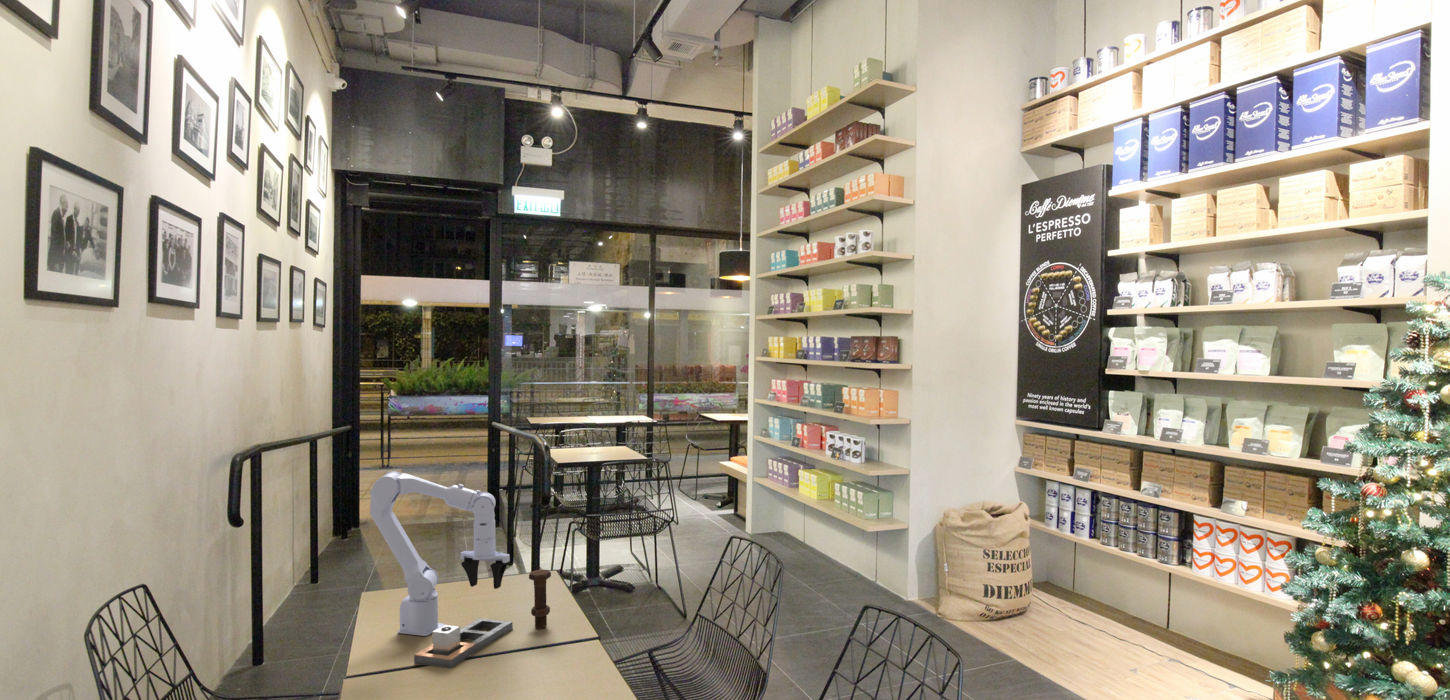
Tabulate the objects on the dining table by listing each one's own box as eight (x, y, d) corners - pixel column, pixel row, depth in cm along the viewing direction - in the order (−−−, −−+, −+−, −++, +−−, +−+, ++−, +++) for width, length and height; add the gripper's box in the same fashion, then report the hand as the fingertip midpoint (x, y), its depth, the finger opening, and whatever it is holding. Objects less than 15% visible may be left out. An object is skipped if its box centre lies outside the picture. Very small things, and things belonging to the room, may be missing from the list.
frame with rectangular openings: (414, 663, 177) (414, 654, 177) (479, 625, 201) (479, 617, 201) (450, 668, 174) (450, 659, 174) (512, 629, 198) (512, 621, 198)
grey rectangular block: (433, 660, 179) (432, 631, 179) (445, 652, 183) (444, 624, 183) (448, 662, 177) (448, 632, 177) (460, 654, 182) (459, 626, 182)
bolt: (544, 631, 196) (543, 575, 196) (527, 630, 197) (526, 574, 197) (554, 623, 201) (553, 569, 202) (537, 622, 202) (536, 568, 203)
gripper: (453, 539, 200) (454, 589, 200) (498, 542, 196) (499, 593, 196) (469, 533, 207) (470, 581, 207) (513, 536, 203) (514, 585, 203)
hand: (485, 586), depth 202 cm, fingers open, 7 cm apart
